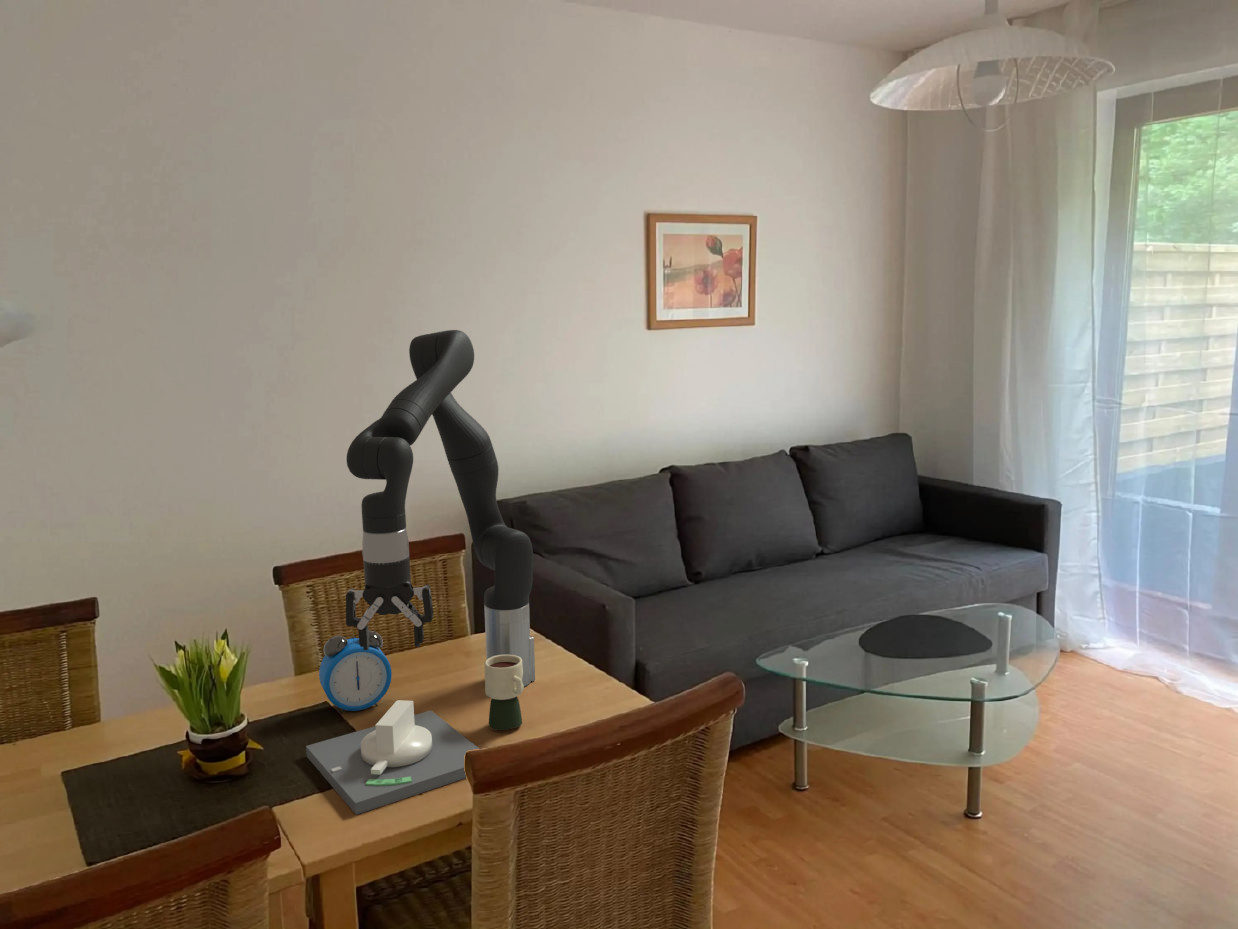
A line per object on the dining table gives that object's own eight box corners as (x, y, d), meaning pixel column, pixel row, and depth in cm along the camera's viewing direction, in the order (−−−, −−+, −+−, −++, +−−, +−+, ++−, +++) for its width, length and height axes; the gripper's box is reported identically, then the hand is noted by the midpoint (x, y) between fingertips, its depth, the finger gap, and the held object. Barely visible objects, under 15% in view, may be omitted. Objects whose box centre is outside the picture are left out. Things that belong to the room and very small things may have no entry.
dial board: (431, 720, 181) (431, 709, 180) (491, 769, 162) (491, 756, 161) (306, 756, 167) (305, 744, 166) (356, 815, 148) (355, 801, 147)
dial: (377, 733, 170) (375, 696, 169) (441, 736, 169) (439, 699, 168) (341, 775, 155) (338, 736, 154) (411, 779, 154) (409, 739, 152)
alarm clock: (326, 719, 182) (321, 645, 179) (320, 707, 187) (315, 635, 185) (394, 705, 188) (390, 633, 185) (386, 693, 193) (382, 624, 190)
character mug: (537, 730, 176) (536, 664, 174) (505, 742, 171) (503, 674, 169) (505, 711, 184) (503, 648, 182) (474, 722, 180) (471, 657, 177)
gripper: (431, 547, 162) (436, 637, 165) (346, 551, 160) (352, 641, 163) (427, 559, 155) (432, 653, 158) (338, 563, 153) (345, 657, 156)
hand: (392, 647), depth 160 cm, fingers open, 8 cm apart
